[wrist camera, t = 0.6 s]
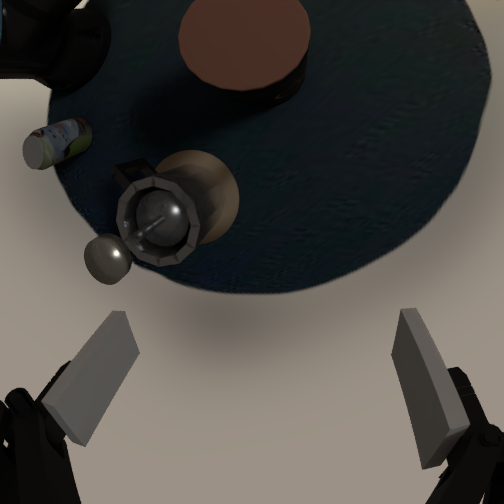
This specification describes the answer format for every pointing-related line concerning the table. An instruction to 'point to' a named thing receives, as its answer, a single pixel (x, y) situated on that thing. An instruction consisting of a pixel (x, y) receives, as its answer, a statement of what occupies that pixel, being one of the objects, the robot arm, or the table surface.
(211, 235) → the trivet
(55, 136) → the beverage can
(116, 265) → the plunger
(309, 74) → the table surface
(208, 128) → the table surface
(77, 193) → the table surface
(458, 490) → the robot arm
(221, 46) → the coffee jar
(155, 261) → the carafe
